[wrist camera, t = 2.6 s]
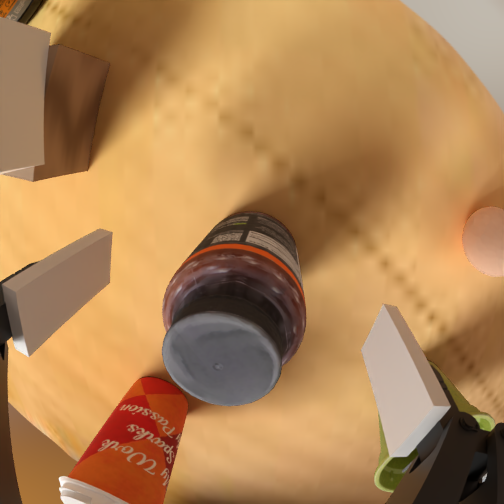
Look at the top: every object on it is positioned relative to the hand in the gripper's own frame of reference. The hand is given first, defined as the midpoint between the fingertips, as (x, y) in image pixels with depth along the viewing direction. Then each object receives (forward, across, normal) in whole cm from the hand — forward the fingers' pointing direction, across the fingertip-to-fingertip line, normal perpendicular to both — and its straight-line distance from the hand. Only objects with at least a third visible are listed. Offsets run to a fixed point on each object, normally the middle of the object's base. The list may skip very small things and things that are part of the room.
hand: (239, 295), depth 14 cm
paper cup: (+7, +5, +16) cm, 18 cm away
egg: (+7, -15, -6) cm, 17 cm away
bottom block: (+7, +17, -6) cm, 19 cm away
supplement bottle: (+7, 0, 0) cm, 7 cm away
